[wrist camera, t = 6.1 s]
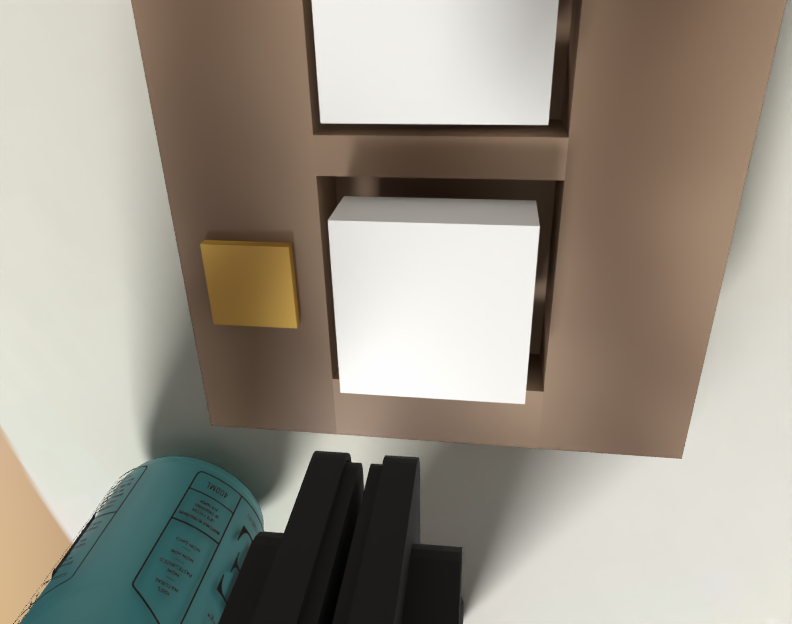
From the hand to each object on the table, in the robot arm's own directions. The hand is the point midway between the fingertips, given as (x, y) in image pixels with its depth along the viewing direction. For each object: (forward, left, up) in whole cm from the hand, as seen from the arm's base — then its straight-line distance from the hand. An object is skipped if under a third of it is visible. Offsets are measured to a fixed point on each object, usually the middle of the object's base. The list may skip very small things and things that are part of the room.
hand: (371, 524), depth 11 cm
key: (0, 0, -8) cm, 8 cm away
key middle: (0, -7, -8) cm, 11 cm away
